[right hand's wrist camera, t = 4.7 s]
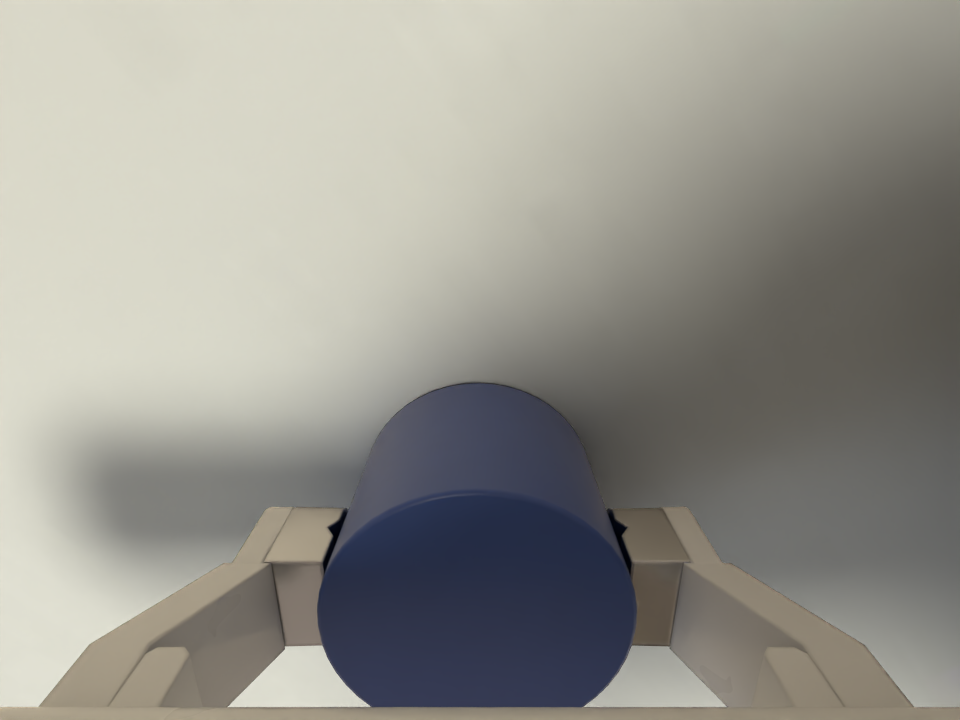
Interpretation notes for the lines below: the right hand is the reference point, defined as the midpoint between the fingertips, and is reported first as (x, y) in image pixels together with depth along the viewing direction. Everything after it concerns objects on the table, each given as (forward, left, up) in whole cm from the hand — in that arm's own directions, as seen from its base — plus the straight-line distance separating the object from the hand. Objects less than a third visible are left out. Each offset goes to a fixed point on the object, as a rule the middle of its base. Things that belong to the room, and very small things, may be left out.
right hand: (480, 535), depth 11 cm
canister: (0, 0, -2) cm, 2 cm away
